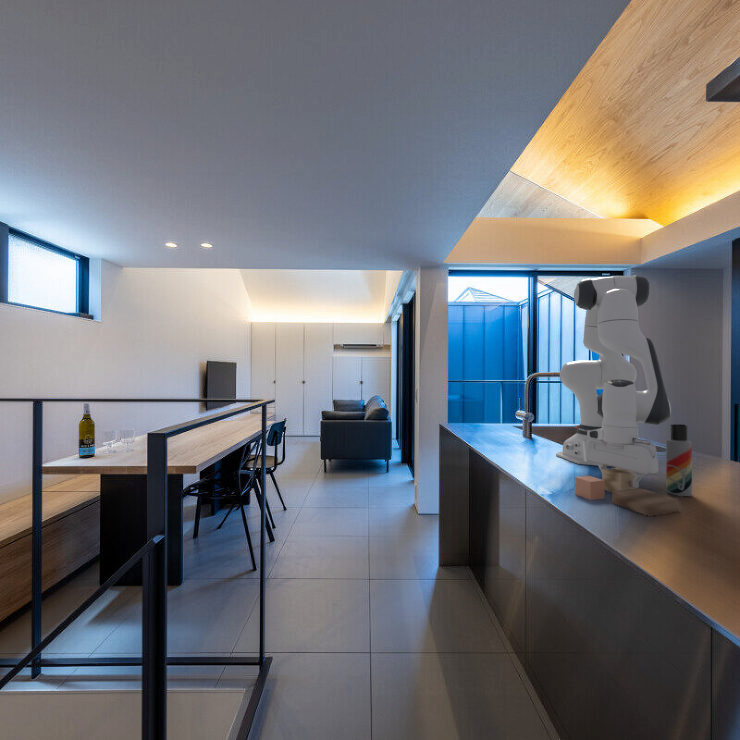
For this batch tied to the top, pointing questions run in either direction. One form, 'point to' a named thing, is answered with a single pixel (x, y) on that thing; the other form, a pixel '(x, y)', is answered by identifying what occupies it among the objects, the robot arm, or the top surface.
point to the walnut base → (645, 501)
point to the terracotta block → (590, 487)
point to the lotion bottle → (679, 461)
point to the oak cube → (617, 479)
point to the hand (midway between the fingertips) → (619, 483)
